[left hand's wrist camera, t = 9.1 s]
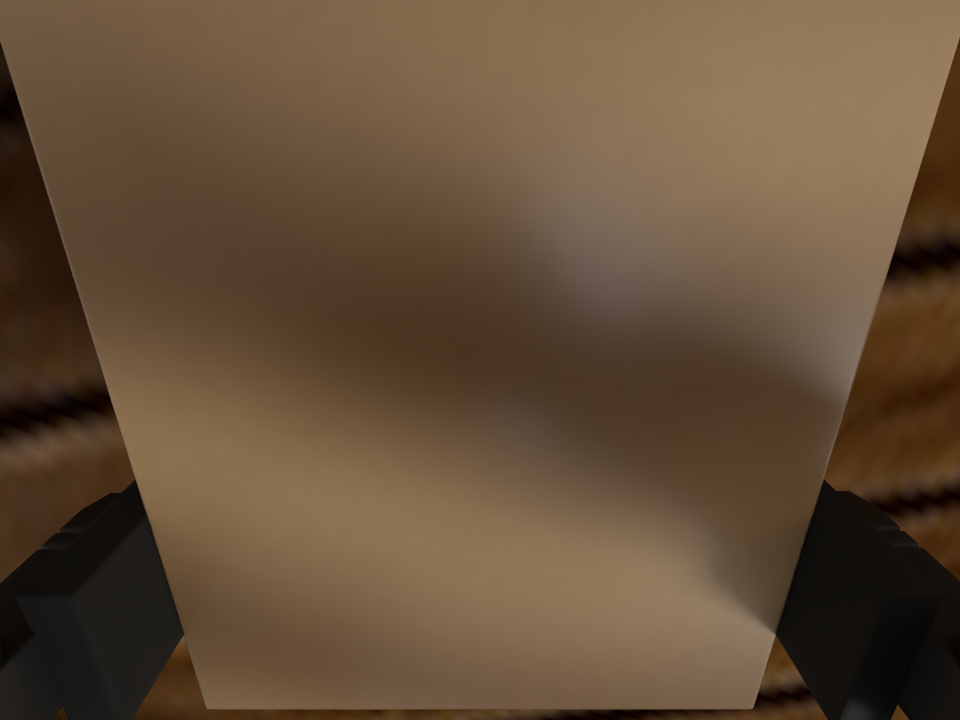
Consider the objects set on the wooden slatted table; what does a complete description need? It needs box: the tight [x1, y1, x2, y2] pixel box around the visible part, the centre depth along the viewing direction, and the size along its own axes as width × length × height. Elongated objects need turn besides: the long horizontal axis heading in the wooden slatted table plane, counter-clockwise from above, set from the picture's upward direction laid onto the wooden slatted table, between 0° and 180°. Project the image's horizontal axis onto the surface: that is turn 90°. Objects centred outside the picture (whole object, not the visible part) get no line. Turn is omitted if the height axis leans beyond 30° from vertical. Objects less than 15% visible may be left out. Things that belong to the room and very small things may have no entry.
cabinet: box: [0, 0, 960, 709], centre depth 11 cm, size 16×11×8 cm, turn 0°
